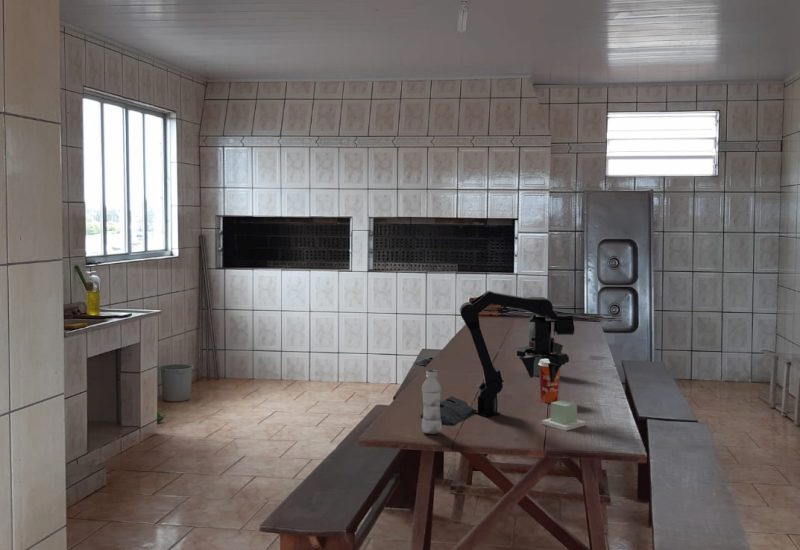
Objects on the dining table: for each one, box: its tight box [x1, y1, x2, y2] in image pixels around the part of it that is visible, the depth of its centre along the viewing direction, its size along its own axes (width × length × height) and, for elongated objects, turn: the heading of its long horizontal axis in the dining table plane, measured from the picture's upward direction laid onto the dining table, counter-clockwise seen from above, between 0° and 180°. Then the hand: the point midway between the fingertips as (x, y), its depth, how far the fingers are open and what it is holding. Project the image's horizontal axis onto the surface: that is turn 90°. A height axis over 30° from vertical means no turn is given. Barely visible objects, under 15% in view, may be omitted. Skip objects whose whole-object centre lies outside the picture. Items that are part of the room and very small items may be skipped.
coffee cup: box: [538, 359, 561, 404], centre depth 297 cm, size 8×8×15 cm
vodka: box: [527, 314, 546, 377], centre depth 341 cm, size 9×9×30 cm
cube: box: [549, 399, 578, 424], centre depth 267 cm, size 6×6×6 cm
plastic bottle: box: [421, 369, 443, 435], centre depth 257 cm, size 6×7×20 cm
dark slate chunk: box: [420, 396, 477, 426], centre depth 278 cm, size 15×22×5 cm
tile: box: [541, 417, 586, 432], centre depth 267 cm, size 10×10×1 cm
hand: (541, 379), depth 279 cm, fingers open, 9 cm apart
